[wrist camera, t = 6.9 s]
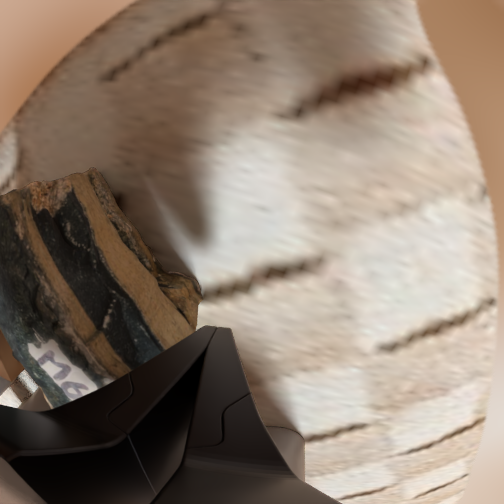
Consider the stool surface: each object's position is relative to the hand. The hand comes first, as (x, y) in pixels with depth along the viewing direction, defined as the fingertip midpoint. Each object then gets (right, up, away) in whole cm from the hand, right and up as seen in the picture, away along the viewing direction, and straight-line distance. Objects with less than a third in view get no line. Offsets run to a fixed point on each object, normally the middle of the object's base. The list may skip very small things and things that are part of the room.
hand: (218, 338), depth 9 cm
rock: (-6, +2, +3) cm, 7 cm away
